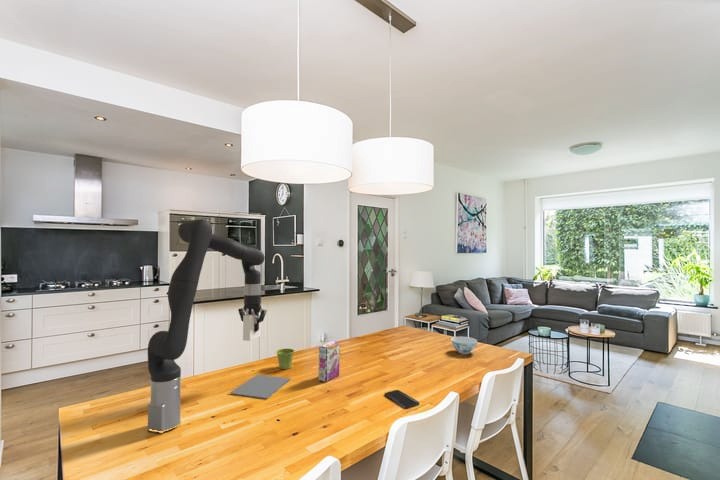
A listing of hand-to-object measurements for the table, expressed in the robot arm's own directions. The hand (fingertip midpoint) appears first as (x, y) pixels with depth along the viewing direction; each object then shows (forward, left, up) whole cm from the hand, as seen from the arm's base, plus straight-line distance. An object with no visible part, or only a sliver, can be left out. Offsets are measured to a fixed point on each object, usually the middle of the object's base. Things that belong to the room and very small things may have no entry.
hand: (252, 330), depth 159 cm
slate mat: (0, -5, -25) cm, 25 cm away
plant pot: (+25, -4, -25) cm, 36 cm away
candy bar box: (+18, -31, -25) cm, 44 cm away
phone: (+4, -68, -25) cm, 73 cm away
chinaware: (+78, -95, -25) cm, 126 cm away
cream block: (0, 0, -3) cm, 3 cm away
